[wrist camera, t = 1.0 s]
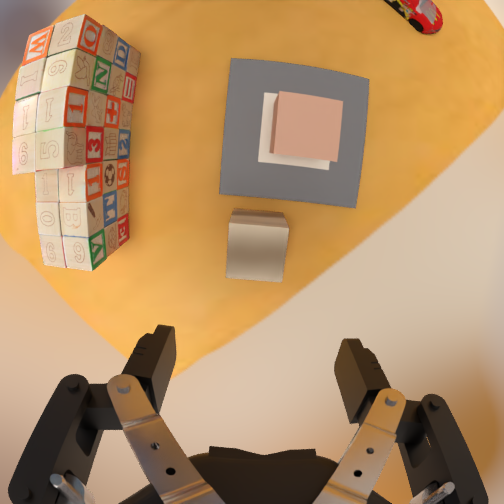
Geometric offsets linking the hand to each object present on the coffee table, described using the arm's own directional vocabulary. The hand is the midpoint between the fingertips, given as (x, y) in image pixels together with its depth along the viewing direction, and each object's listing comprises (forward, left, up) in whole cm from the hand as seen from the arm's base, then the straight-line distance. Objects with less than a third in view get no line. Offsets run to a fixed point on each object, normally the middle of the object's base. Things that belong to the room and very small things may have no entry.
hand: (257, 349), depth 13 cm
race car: (-32, +14, -19) cm, 40 cm away
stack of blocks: (-9, -17, -19) cm, 27 cm away
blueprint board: (-11, +3, -18) cm, 22 cm away
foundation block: (-11, +3, -18) cm, 21 cm away
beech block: (0, 0, -19) cm, 19 cm away
